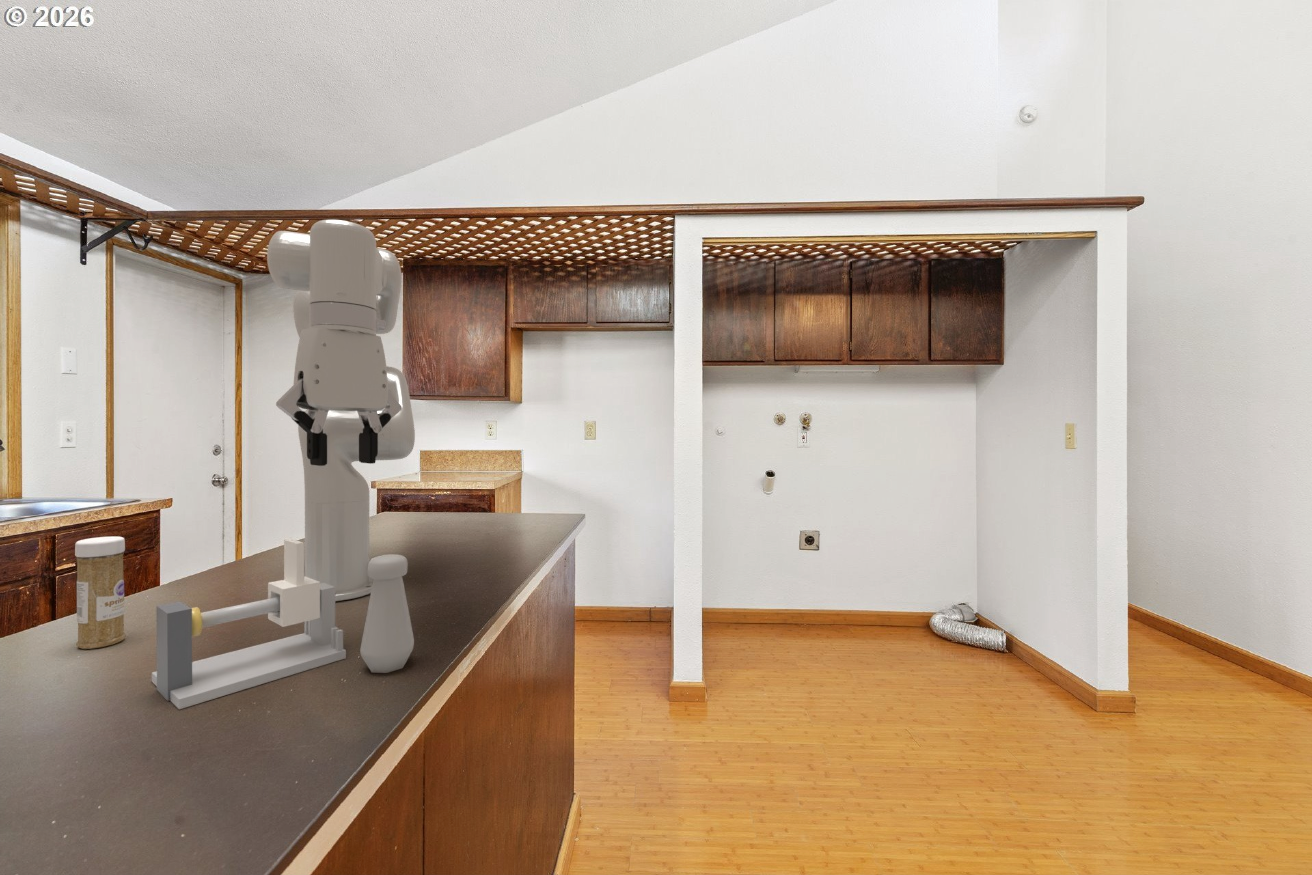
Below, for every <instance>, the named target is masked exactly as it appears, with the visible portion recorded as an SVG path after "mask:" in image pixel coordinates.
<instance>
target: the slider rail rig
mask: <svg viewBox="0 0 1312 875" xmlns="http://www.w3.org/2000/svg"><path fill="white" fill-rule="evenodd" d="M155 609H156V611H155V612H156V671H153V672H151V682H152V683H153V685H154V686H156V690H157V692H158V693H159V694H160V695H161V696H162V697H163V698H164V699H165V700H166V701H167V702H169V701H170V702H171V703H172V704H173V705H174V706H175V707H176V708H177V709H178V710H182V709H186V708H189V707H192V706H195V705H199V704H201V703H204V702H208V701H211V700H214V699H218V698H220V697H223V696H227V695H230V694H234V693H238V692H240V691H244V690H246V689H250V688H254V687H257V686H260V685H263V684H266V683H270V682H272V681H276V680H279V679H283V678H286V677H289V676H292V675H296V674H300V673H302V672H306V671H309V670H312V669H316V668H318V667H322V666H325V665H328V664H332V663H335V662H338V661H341V660H344V659H345V660H346V658H347V649H345V648H344V630H343V629H339V627H337V626H336V601H335V587H334V586H331V585H329V584H326V583H321V584H320V618H318V619H314V620H309V621H305V622H303V623H304V624H303V625H304V626H303V631H304V632H303V633H299V634H294V635H291V636H287V637H283V638H279V639H275V640H272V641H269V642H264V643H259V644H256V645H252V646H249V647H244V648H240V649H238V650H233V651H229V652H225V653H222V654H219V655H213V656H210V657H207V658H202V659H199V660H194V661H193V637H198V636H200V635H201V633H202V631H203V628H208V627H212V626H216V625H220V624H226V623H230V622H234V621H235V622H236V621H238V620H243V619H247V618H252V617H257V616H261V615H267V614H268V613H271V612H275V611H280V597H275V598H270V599H268V598H266V599H265V598H264V599H262V600H257V601H252V602H246V603H241V604H237V605H231V606H227V607H222V608H219V609H218V608H217V609H213V610H208V611H203V612H201V609H200V608H199V607H198V606H195V607H190V606H188V605H187V604H185V603H184V602H182V601H175V602H170V603H169V602H168V603H164V604H160V605H156V608H155Z"/></svg>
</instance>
